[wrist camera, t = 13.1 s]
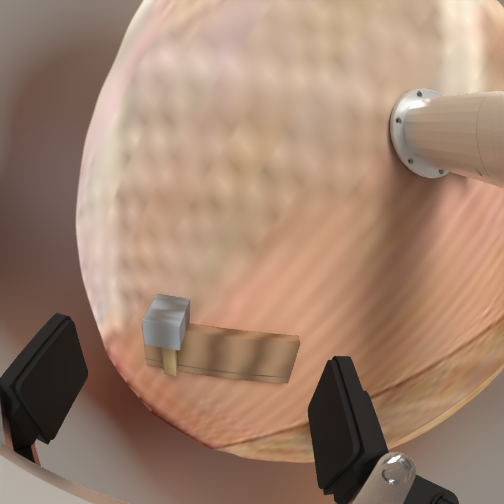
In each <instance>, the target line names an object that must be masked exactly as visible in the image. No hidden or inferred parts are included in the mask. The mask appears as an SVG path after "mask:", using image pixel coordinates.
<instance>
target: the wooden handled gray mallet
mask: <svg viewBox="0 0 504 504" xmlns="http://www.w3.org/2000/svg"><path fill="white" fill-rule="evenodd" d="M189 320H190V299H187V298H181V297H174V296H168V295H161V294H157V295H156V297H155V299H154V301H153V302H152V304H151V306H150V308H149V309H148V311H147V313H146V315H145V317H144V318H143V320H142V324H143V334H144V343H145V344H147V345H152V346H157V347H162V352H163V364H164V374H167V375H173V376H177V372H178V365H177V350H180V348H181V345H182V342H183V339H184V336H185V333H186V330H187V327H188V324H189Z"/></svg>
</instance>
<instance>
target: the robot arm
mask: <svg viewBox="0 0 504 504" xmlns="http://www.w3.org/2000/svg"><path fill="white" fill-rule="evenodd" d="M396 120H397V123H396ZM390 133H391V139H392V143H393V146H394V149H395V151H396V153H397V155H398V157H399V158H400V160H401V161H402V163H403V164H404V165H405V166H406V167H407V168H408V169H409V170H411V171H412V172H414V173H415V174H417V175H420V176H422V177H426V178H439V177H442V176H444V175H447V174H448V173H449V172H451V173H455V174H459V175H462V176H466V177H469V178H473V179H476V180H479V181H483V182H486V183H489V184H492V185H495V186H498V187H501V188H504V91H490V92H477V93H466V94H457V95H449V96H443V95H441V94H439V93H438V92H436V91H433V90H431V89H425V88H420V89H414V90H411V91H408V92H407V93H405V94H403V95H402V96H401V97H400V98H399V99H398V101H397V102H396V104H395V106H394V108H393V111H392V114H391V120H390ZM408 159H409V162H408ZM87 377H88V370H87V367H86V363H85V360H84V357H83V353H82V350H81V346H80V343H79V339H78V335H77V332H76V328H75V324H74V322H73V321H72V320H71V318H70V317H69V316H66V315H62V314H59V313H56V314H55V315H54V316H53V317H52V318H51V319H50V320H49V321H48V322H47V323H46V324H45V325H44V326H43V327H42V329H41V330H40V331H39V332H38V333H37V334H36V335H35V336H34V338H33V339H32V340H31V341H30V342H29V343H28V345H27V346H26V347H25V348H24V349H23V350H22V352H21V353H20V354H19V355H18V356H17V358H16V359H15V360H14V362H13V363H12V364H11V365H10V366H9V368H8V369H7V370H6V371H5V373H4V374H3V375H2V376H1V378H0V504H131V503H128V502H124V501H121V500H118V499H115V498H112V497H109V496H106V495H103V494H101V493H98V492H95V491H92V490H90V489H87V488H85V487H83V486H80V485H78V484H76V483H73V482H71V481H69V480H66V479H65V478H62V477H60V476H58V475H56V474H54V473H52V472H50V471H48V470H46V469H44V468H43V467H41V465H40V462H39V458H38V455H37V451H36V448H35V443H34V442H35V440H36V439H38V440H40V441H42V442H44V443H46V444H49V442H50V440H53V439H54V438H55V437H56V435H57V433H58V431H59V429H60V427H61V425H62V423H63V421H64V419H65V417H66V415H67V414H68V412H69V410H70V408H71V406H72V404H73V402H74V401H75V399H76V397H77V395H78V393H79V392H80V390H81V388H82V386H83V385H84V383H85V381H86V379H87ZM308 418H309V424H310V431H311V438H312V445H313V451H314V459H315V466H316V473H317V481H318V486H319V488H320V489H323V492H324V495H329V494H334V500H335V502H336V503H335V504H459V502H458V499H457V497H456V496H455V494H454V493H452V492H451V491H449V490H447V489H445V488H443V487H440V486H438V485H436V484H434V483H432V482H430V481H428V480H426V479H424V478H422V477H420V476H418V475H416V466H415V464H414V461H413V460H412V459H411V458H410V457H409V456H407V455H406V454H403V453H400V452H391V453H389V452H388V448H387V445H386V442H385V439H384V436H383V433H382V430H381V427H380V424H379V422H378V419H377V416H376V413H375V410H374V407H373V404H372V402H371V399H370V396H369V394H368V393H367V392H366V391H363V389H362V386H361V384H360V381H359V378H358V375H357V373H356V370H355V367H354V364H353V362H352V359H351V357H349V356H334V357H333V358H332V360H328V361H327V363H326V366H325V368H324V371H323V373H322V376H321V378H320V381H319V383H318V385H317V388H316V390H315V392H314V395H313V397H312V399H311V402H310V404H309V407H308Z"/></svg>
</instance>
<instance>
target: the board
mask: <svg viewBox="0 0 504 504" xmlns="http://www.w3.org/2000/svg"><path fill="white" fill-rule="evenodd" d="M142 328H143V324H142ZM143 338H144V334H143ZM144 346H145V354H146V362H147V365H151V366H155V367H160V368H164V364H163V352H162V347H157V346H152V345H147V344H145V343H144ZM299 346H300V341H299V336H292V335H280V334H269V333H259V332H250V331H241V330H233V329H225V328H217V327H210V326H203V325H196V324H188V327H187V330H186V333H185V336H184V339H183V342H182V345H181V348H180V350H177V365H178V371H182V372H188V373H194V374H201V375H207V376H215V377H222V378H231V379H239V380H249V381H261V382H274V383H288V381H289V378H290V375H291V372H292V369H293V366H294V362H295V359H296V356H297V353H298V349H299Z"/></svg>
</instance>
